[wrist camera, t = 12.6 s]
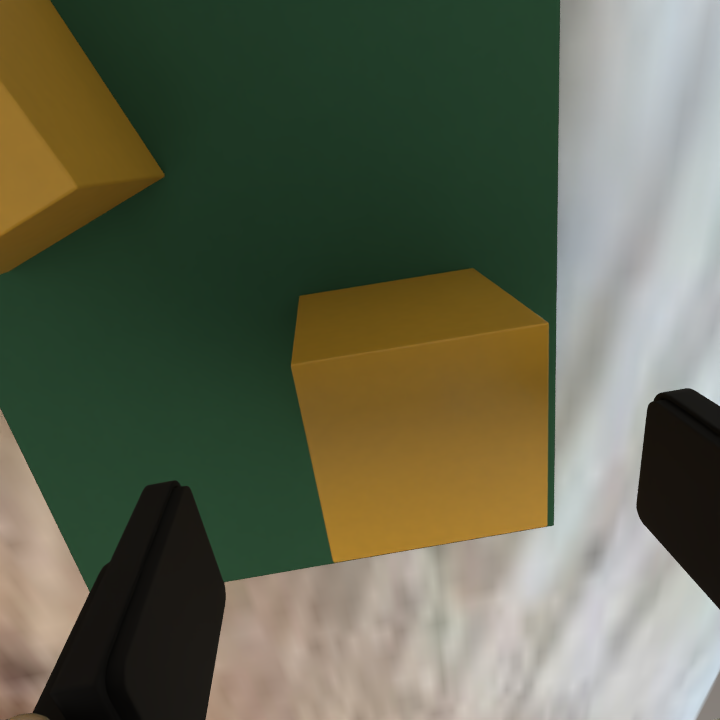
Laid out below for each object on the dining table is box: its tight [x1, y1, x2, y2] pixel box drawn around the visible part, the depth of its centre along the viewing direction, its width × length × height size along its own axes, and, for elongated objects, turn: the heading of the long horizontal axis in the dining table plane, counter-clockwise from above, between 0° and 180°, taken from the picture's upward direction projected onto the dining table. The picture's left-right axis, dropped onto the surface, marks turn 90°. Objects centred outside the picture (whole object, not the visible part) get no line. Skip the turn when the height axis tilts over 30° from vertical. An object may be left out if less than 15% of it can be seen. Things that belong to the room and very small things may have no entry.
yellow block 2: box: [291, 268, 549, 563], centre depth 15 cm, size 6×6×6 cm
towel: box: [0, 0, 560, 591], centre depth 17 cm, size 20×22×1 cm
